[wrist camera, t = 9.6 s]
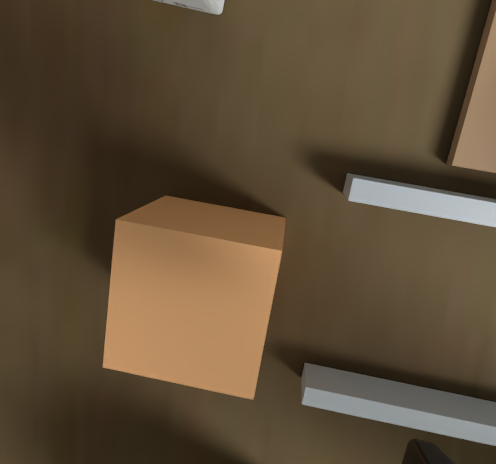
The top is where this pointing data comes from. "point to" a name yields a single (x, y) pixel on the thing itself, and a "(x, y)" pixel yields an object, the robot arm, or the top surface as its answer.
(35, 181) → the top surface
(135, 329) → the block
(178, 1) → the supplement box
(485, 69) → the coaster
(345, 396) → the channel
